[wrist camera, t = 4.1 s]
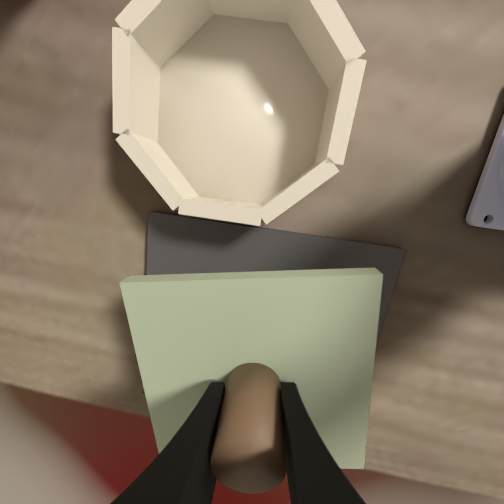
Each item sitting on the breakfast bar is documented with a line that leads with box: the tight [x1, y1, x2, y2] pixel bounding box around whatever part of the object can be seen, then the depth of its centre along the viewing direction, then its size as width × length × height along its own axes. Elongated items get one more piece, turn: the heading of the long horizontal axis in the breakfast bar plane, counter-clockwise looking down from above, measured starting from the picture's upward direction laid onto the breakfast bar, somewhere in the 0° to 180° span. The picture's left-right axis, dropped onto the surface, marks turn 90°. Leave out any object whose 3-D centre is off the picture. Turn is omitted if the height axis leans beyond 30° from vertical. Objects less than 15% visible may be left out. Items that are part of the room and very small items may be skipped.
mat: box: [143, 211, 406, 393], centre depth 17 cm, size 16×14×1 cm
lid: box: [120, 267, 383, 493], centre depth 10 cm, size 11×11×4 cm
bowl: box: [112, 0, 367, 226], centre depth 12 cm, size 11×11×4 cm
